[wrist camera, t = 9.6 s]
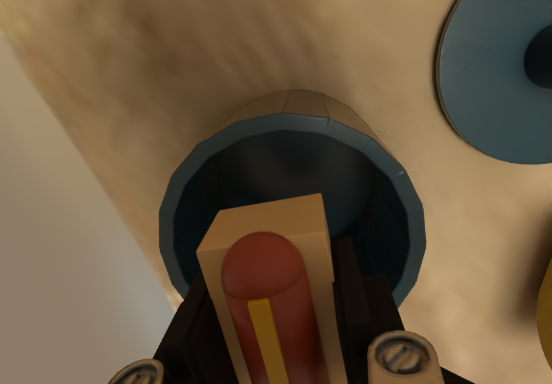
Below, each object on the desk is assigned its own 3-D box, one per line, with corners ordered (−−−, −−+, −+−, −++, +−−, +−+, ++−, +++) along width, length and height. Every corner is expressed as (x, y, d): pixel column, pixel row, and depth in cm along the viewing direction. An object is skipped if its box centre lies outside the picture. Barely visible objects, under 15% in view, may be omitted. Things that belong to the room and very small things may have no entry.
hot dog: (216, 201, 11) (170, 273, 8) (319, 182, 11) (326, 250, 7) (262, 362, 13) (244, 482, 10) (351, 352, 13) (368, 474, 9)
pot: (191, 110, 21) (120, 145, 13) (369, 71, 19) (413, 84, 12) (234, 261, 24) (200, 363, 16) (390, 238, 23) (435, 337, 15)
